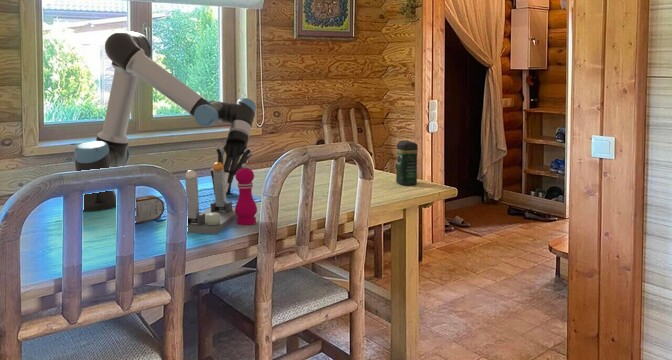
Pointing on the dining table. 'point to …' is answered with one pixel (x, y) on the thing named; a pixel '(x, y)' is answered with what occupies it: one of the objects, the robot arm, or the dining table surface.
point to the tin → (148, 208)
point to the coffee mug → (213, 182)
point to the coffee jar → (406, 163)
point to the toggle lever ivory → (192, 195)
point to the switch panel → (201, 226)
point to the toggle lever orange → (219, 186)
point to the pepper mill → (245, 197)
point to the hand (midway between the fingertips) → (223, 190)
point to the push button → (212, 218)
